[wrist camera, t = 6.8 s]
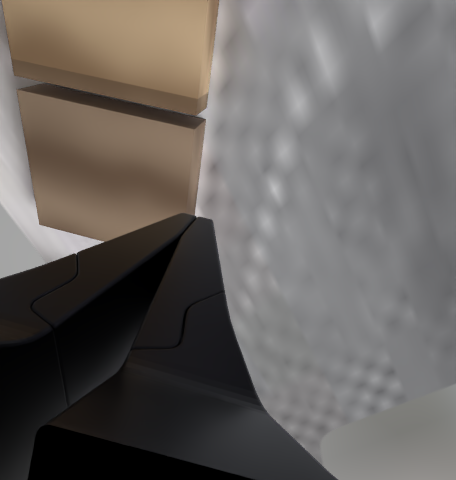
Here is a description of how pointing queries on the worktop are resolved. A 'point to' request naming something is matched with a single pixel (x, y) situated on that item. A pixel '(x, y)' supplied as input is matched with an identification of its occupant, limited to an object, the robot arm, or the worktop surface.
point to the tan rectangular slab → (117, 47)
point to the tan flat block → (108, 161)
